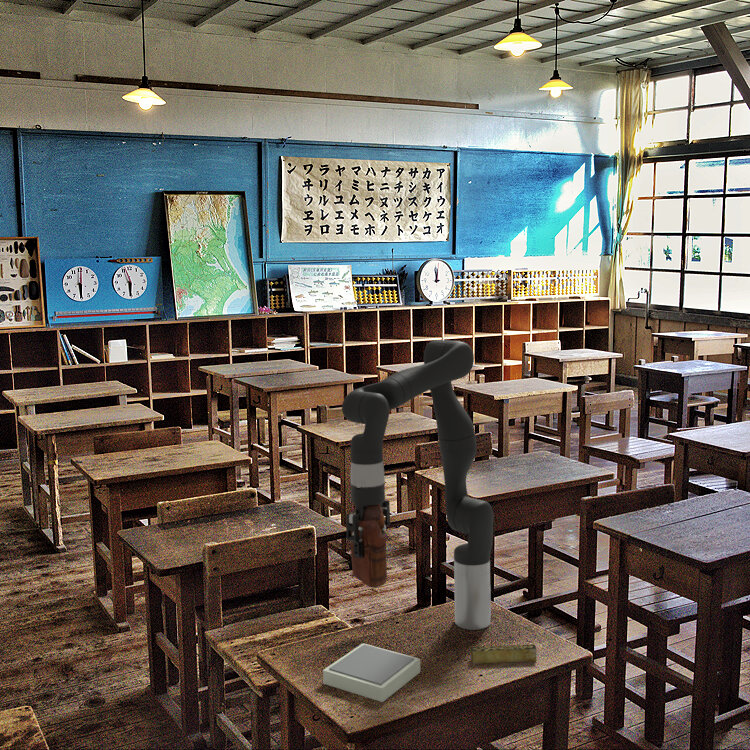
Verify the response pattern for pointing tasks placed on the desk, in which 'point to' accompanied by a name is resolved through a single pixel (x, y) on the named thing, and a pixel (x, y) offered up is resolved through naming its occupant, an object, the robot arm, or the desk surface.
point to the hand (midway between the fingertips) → (369, 551)
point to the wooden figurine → (371, 549)
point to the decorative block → (503, 653)
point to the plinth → (371, 672)
